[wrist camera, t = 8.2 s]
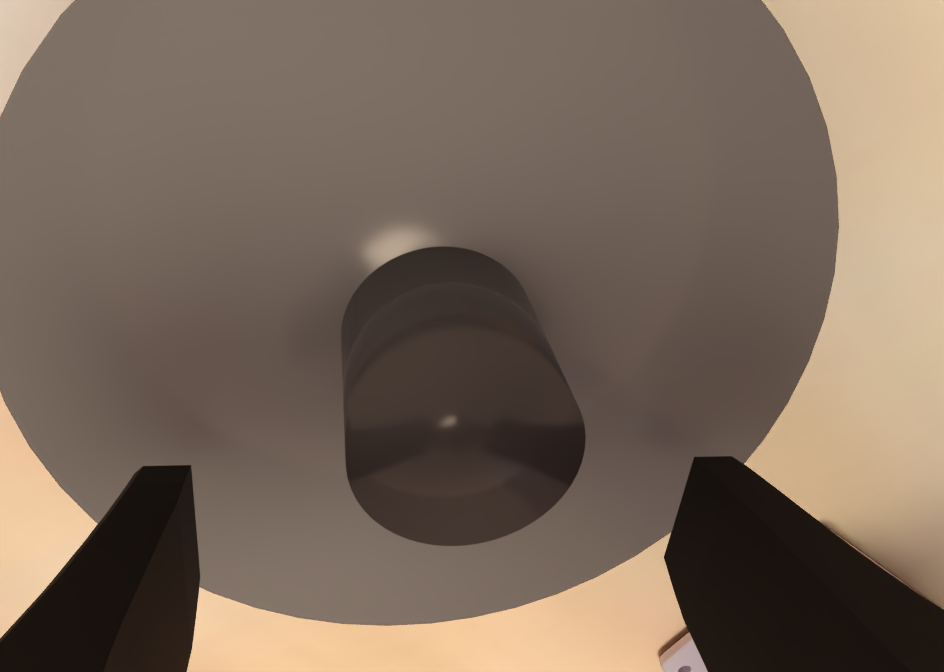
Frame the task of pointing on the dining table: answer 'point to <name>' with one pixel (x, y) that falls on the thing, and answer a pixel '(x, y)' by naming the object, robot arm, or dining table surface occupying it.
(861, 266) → the dining table surface
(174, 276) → the lid
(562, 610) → the dining table surface
